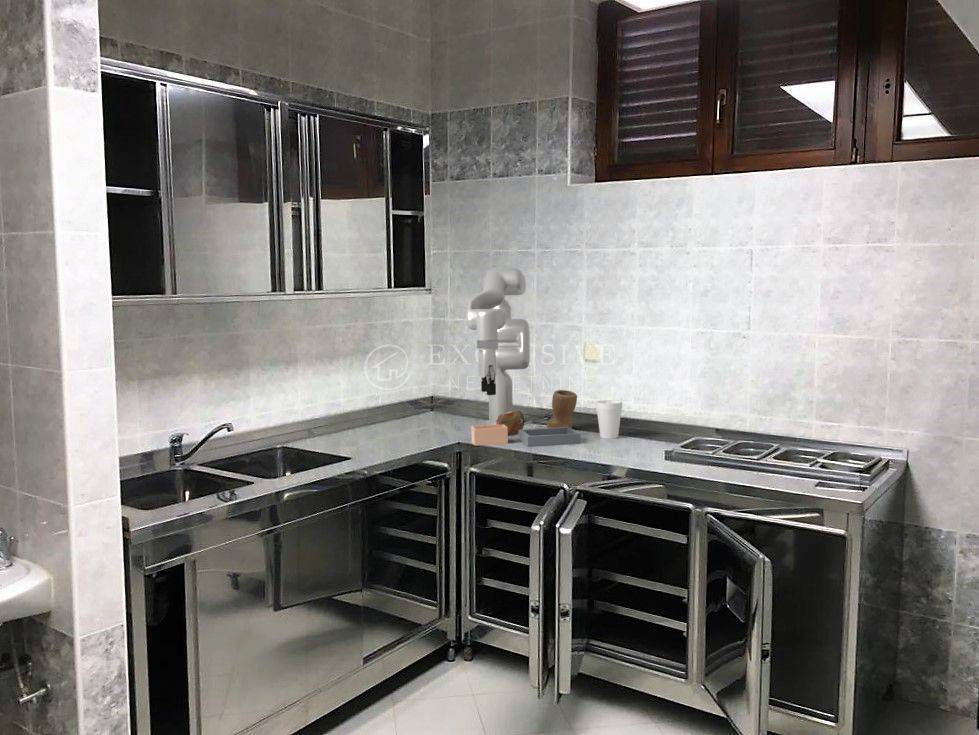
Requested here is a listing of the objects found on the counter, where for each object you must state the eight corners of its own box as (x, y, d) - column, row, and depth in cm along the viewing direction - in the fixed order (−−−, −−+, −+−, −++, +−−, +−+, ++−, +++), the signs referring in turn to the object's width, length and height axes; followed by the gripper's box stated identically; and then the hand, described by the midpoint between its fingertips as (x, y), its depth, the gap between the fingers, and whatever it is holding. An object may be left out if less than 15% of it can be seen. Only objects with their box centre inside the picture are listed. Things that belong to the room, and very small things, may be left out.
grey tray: (518, 439, 316) (518, 429, 315) (569, 436, 319) (569, 426, 319) (527, 446, 302) (527, 436, 301) (580, 443, 305) (580, 433, 305)
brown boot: (575, 432, 327) (575, 393, 325) (544, 432, 329) (543, 392, 328) (580, 425, 341) (579, 387, 340) (550, 425, 344) (549, 387, 342)
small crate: (471, 442, 312) (471, 426, 312) (504, 440, 315) (503, 424, 314) (474, 446, 306) (474, 429, 305) (507, 444, 308) (507, 427, 308)
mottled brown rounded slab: (501, 437, 320) (501, 415, 319) (495, 436, 322) (494, 414, 321) (525, 431, 332) (524, 409, 331) (518, 430, 334) (518, 408, 333)
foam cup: (592, 438, 314) (592, 403, 313) (601, 434, 322) (601, 399, 321) (617, 440, 310) (617, 404, 308) (625, 435, 318) (625, 400, 317)
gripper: (472, 343, 314) (473, 390, 316) (481, 347, 297) (482, 396, 299) (492, 343, 316) (493, 389, 317) (503, 346, 299) (504, 395, 301)
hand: (488, 393), depth 308 cm, fingers open, 9 cm apart
